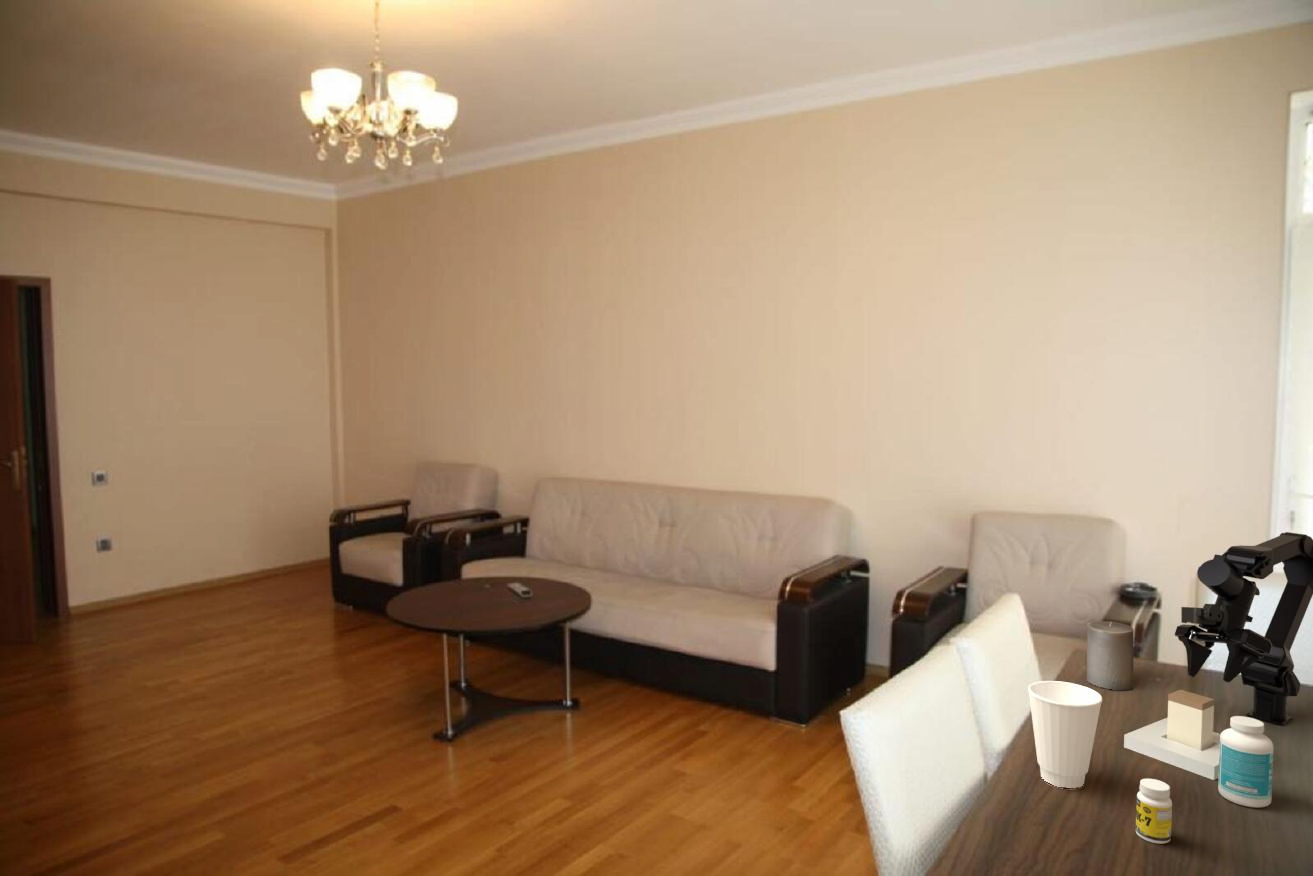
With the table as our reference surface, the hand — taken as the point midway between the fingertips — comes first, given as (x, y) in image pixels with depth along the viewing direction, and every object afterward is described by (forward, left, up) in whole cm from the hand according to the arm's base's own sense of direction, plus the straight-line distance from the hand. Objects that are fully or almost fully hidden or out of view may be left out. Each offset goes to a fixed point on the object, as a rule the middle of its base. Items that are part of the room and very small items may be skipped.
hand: (1207, 678), depth 164 cm
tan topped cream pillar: (+8, 0, -13) cm, 15 cm away
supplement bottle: (+45, +9, -13) cm, 48 cm away
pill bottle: (+20, +13, -13) cm, 28 cm away
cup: (+38, -9, -13) cm, 41 cm away
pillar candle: (-18, -27, -13) cm, 34 cm away
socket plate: (+8, 0, -12) cm, 15 cm away
